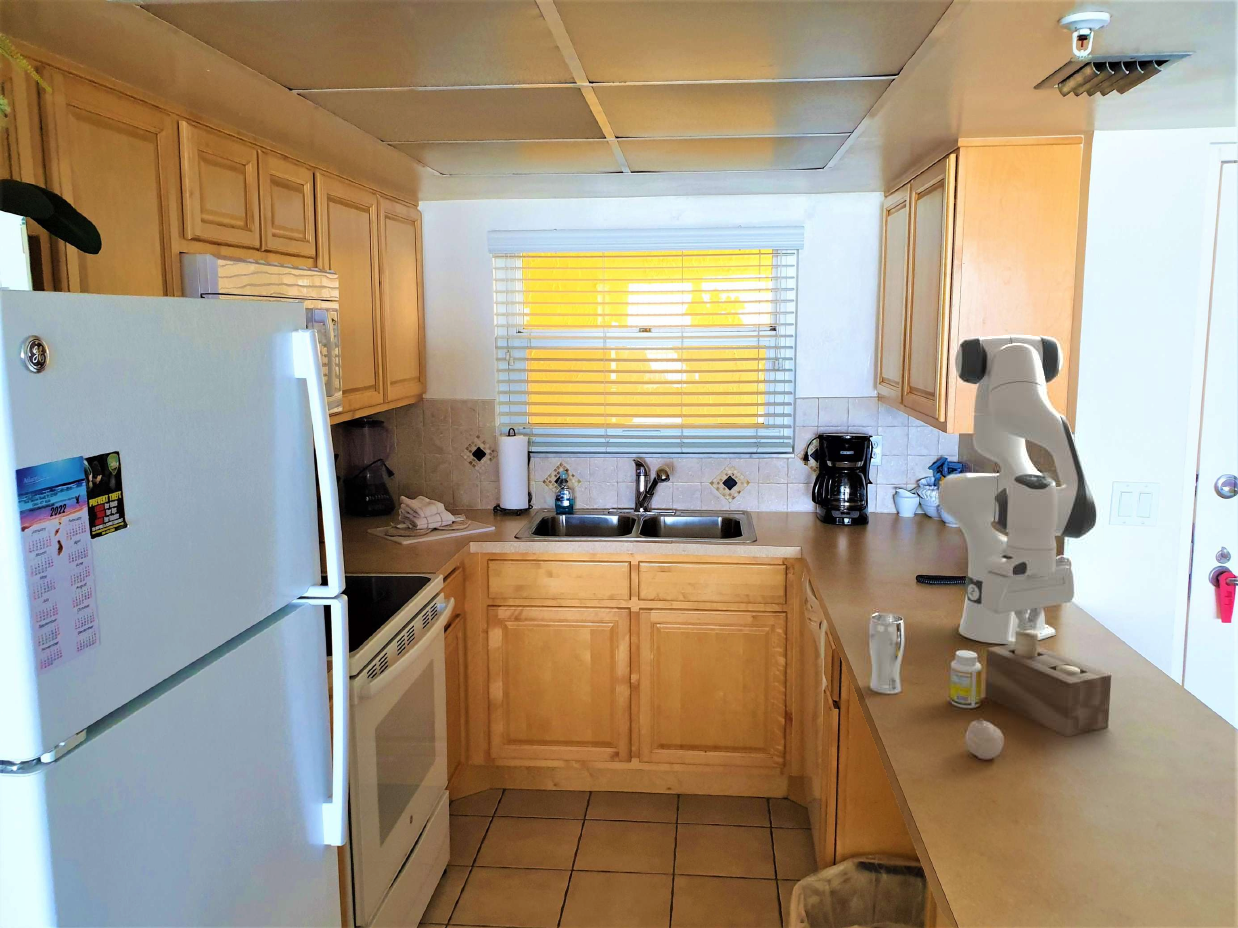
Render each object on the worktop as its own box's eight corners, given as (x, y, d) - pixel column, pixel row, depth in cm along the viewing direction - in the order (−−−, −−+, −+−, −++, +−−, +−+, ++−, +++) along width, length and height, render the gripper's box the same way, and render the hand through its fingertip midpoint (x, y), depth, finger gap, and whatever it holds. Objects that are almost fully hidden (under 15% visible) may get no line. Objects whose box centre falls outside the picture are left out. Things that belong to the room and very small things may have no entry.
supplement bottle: (971, 697, 183) (973, 647, 181) (985, 708, 177) (987, 657, 176) (944, 698, 182) (946, 649, 181) (957, 710, 177) (959, 659, 175)
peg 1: (1024, 672, 182) (1026, 628, 181) (1040, 679, 178) (1042, 634, 177) (1009, 675, 181) (1011, 631, 179) (1024, 682, 177) (1027, 637, 176)
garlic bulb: (955, 751, 159) (957, 708, 158) (983, 744, 162) (985, 701, 161) (984, 768, 153) (986, 722, 152) (1013, 760, 156) (1015, 715, 155)
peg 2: (1064, 709, 173) (1067, 663, 172) (1082, 717, 170) (1085, 670, 168) (1048, 713, 172) (1051, 667, 171) (1066, 721, 168) (1068, 674, 167)
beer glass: (861, 689, 188) (863, 618, 186) (877, 679, 193) (879, 610, 191) (893, 697, 183) (895, 625, 181) (909, 687, 188) (911, 617, 186)
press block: (1023, 688, 187) (1025, 641, 185) (1108, 726, 168) (1111, 674, 167) (984, 696, 183) (986, 648, 182) (1067, 736, 164) (1070, 683, 163)
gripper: (1057, 551, 183) (1054, 618, 185) (977, 561, 175) (974, 631, 177) (1084, 557, 177) (1080, 627, 179) (1002, 569, 170) (999, 641, 171)
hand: (1027, 629), depth 178 cm, fingers closed
